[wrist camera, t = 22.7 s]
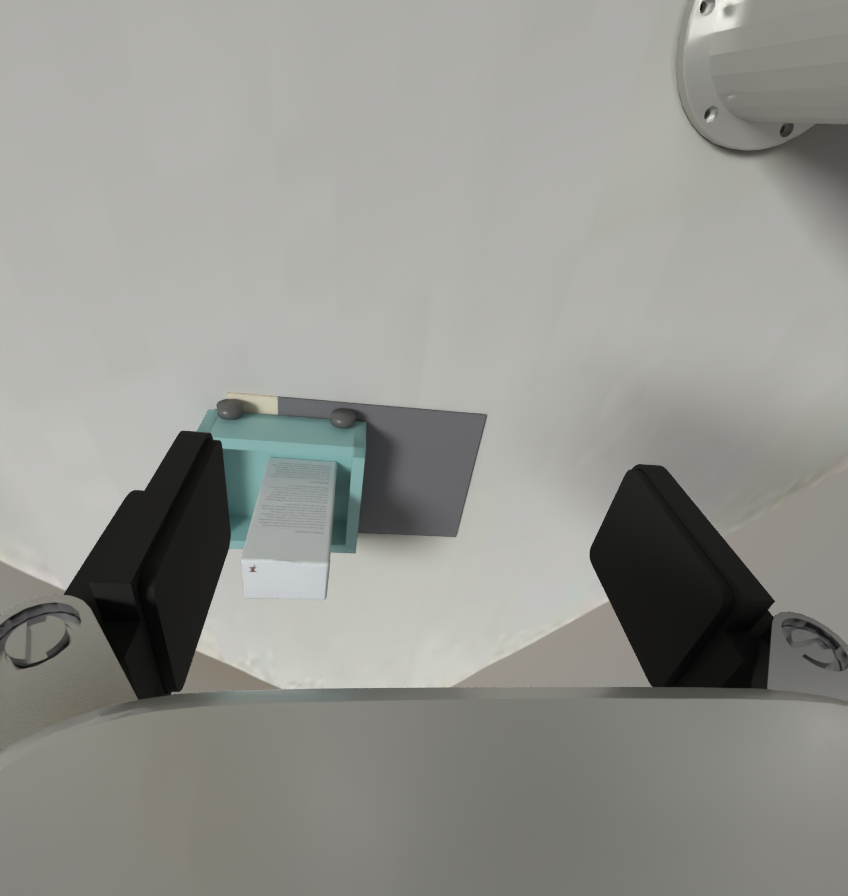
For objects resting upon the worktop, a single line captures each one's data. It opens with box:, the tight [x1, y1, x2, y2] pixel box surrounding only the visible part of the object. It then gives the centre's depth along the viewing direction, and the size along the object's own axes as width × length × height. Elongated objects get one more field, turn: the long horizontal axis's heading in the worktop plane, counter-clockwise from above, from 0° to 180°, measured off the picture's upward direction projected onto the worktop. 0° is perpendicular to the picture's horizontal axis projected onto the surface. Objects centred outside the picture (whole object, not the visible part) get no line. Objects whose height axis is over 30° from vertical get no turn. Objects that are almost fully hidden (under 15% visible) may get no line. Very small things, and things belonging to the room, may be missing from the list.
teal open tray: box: [197, 399, 366, 553], centre depth 43 cm, size 13×14×4 cm
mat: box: [227, 392, 486, 537], centre depth 46 cm, size 22×15×1 cm
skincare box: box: [240, 457, 337, 600], centre depth 39 cm, size 6×4×12 cm
